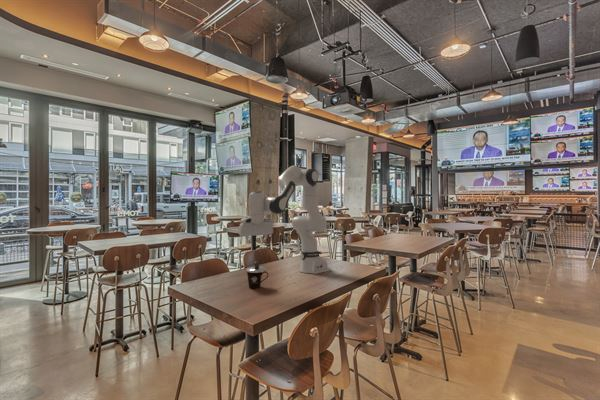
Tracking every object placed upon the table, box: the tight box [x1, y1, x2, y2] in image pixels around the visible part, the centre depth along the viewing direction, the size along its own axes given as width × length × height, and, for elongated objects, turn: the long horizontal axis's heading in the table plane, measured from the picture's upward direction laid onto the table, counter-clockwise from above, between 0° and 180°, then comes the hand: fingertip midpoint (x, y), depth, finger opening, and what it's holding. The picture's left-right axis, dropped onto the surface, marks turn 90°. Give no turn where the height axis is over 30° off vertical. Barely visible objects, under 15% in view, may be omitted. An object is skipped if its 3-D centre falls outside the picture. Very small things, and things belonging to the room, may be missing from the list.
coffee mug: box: [246, 271, 269, 290], centre depth 174 cm, size 12×9×10 cm
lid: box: [246, 261, 268, 273], centre depth 174 cm, size 12×12×5 cm
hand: (256, 242), depth 173 cm, fingers open, 8 cm apart
